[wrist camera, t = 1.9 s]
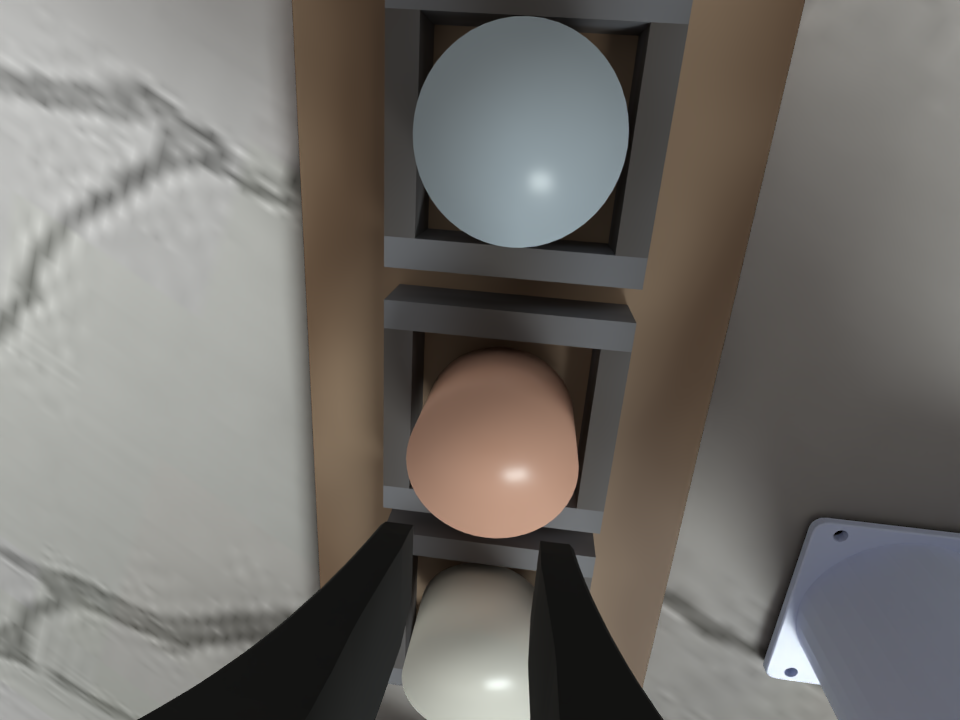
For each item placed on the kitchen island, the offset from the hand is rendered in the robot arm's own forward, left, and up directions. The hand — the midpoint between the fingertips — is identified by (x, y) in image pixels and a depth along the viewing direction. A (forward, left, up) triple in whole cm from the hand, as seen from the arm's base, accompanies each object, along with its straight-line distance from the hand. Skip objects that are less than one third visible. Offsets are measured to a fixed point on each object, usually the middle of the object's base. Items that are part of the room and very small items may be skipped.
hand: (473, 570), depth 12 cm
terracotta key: (0, 0, -7) cm, 7 cm away
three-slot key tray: (0, 0, -10) cm, 10 cm away
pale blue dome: (0, -8, -7) cm, 11 cm away
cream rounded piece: (0, +8, -7) cm, 11 cm away
